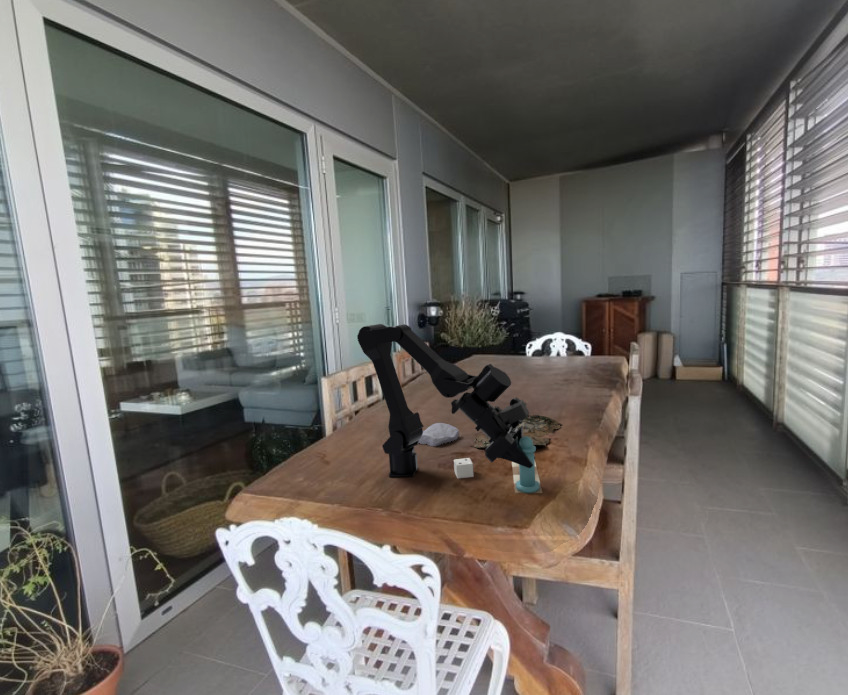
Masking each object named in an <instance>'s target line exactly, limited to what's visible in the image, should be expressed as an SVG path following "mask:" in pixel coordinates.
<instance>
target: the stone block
mask: <svg viewBox="0 0 848 695" xmlns="http://www.w3.org/2000/svg"><path fill="white" fill-rule="evenodd" d="M459 436H460V432H459V429H458V428H457V427H456V426H454V425H451V424H448V423H444V422H436V423H433V424H431V425H430V426H428V427H427V428H426V429H425V430H423V434H422V436H421V438H420V439H419V441H418V443H420V444H421V445H423V444H427V445H426V446H429V445H430V447H433V446H435V447H438V446H442V445H444V444H443V443H445V444H448V443H447V442H449V443H451V441H452V442H455V441H457V439H458V438H459ZM454 440H455V441H454ZM420 444H419V445H420ZM441 444H442V445H441Z"/></svg>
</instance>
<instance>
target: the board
mask: <svg viewBox="0 0 848 695" xmlns="http://www.w3.org/2000/svg"><path fill="white" fill-rule="evenodd" d="M534 463H535V481H537V482H539V486H540V489H539V491H537V492H534V493H533V494H543V489H542V486H541V485H542V484H541V481H540V475H539V472H538V471H539V470H538V467H537V463H536V459H535V460H534ZM511 467H512V468H511V469H512V478H513V486H514V488H513V489H514V494H524V493H523V492H520V491H518V490H517V489H516V482H517V481H519V480H520V472H519V464H517V463H514V462H511Z"/></svg>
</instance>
